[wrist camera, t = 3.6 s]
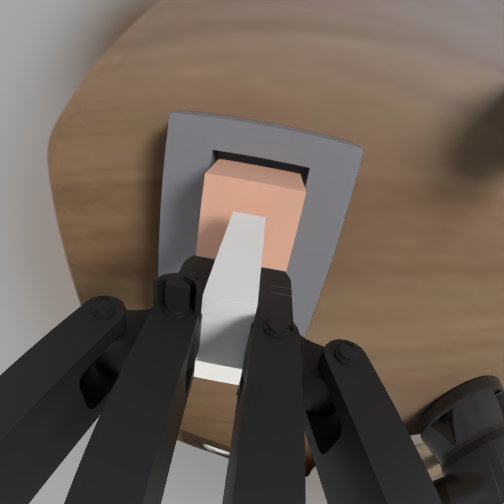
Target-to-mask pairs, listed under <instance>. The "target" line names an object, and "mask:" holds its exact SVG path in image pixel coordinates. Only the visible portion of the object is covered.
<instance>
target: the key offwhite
mask: <svg viewBox="0 0 504 504" xmlns="http://www.w3.org/2000/svg"><path fill="white" fill-rule="evenodd" d="M241 374H242V369H238V368H232V367H227V366H221V365H216V364H211V363H206V362H201V361H197V358H196V361H195V369H194V377H199V378H204V379H209V380H214V381H219V382H224V383H230V384H236V385H239V382H240V378H241Z"/></svg>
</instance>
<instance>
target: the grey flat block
mask: <svg viewBox="0 0 504 504" xmlns="http://www.w3.org/2000/svg"><path fill="white" fill-rule="evenodd" d="M363 150H364V149H363V148H362V147H360V146H358V145H356V144H354V143H352V142H350V141H347V140H343V139H339V138H335V137H331V136H327V135H323V134H319V133H315V132H310V131H306V130H302V129H297V128H292V127H288V126H283V125H278V124H272V123H267V122H262V121H256V120H250V119H244V118H238V117H231V116H224V115H217V114H209V113H201V112H192V111H180V112H171V113H170V115H169V123H168V131H167V140H166V149H165V159H164V170H163V182H162V195H161V211H160V230H159V259H158V277H159V276H162V275H164V274H168V273H179V271H180V270H181V267H182V265H183V263H184V261H185V260H187V259H188V258H190V257H191V256H193V255H195V256H196V248H197V238H198V228H199V219H200V210H201V202H202V194H203V186H204V178H205V173H206V172H207V171H208V170H209V169H210V168H211V167H212V166H213V165H214V164H215V163H216V162H217V161H218V160H219V159H224V160H230V161H236V162H241V163H247V164H253V165H258V166H264V167H269V168H274V169H279V170H284V171H289V172H294V173H298V174H300V175H301V178H302V181H303V183H304V186H305V189H306V196H305V200H304V204H303V208H302V212H301V216H300V220H299V224H298V228H297V232H296V236H295V240H294V244H293V248H292V251H291V255H290V259H289V263H288V267H287V270H286V273H287V275H288V276H289V278H290V279H291V290H292V305H293V322H294V324H295V325H296V326H297V327H298V330H299V334H300V335H301V336H302V337H305V334H306V331H307V329H308V326H309V323H310V321H311V318H312V315H313V313H314V310H315V307H316V304H317V301H318V299H319V296H320V293H321V290H322V287H323V284H324V282H325V279H326V276H327V273H328V270H329V267H330V264H331V261H332V258H333V255H334V252H335V248H336V245H337V242H338V239H339V236H340V233H341V229H342V226H343V223H344V219H345V216H346V213H347V209H348V206H349V202H350V199H351V195H352V192H353V188H354V185H355V181H356V177H357V174H358V170H359V166H360V162H361V158H362V154H363Z"/></svg>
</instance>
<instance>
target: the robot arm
mask: <svg viewBox="0 0 504 504" xmlns="http://www.w3.org/2000/svg"><path fill="white" fill-rule="evenodd" d="M265 219H266V217H261V216H256V215H251V214H245V213H240V212H234V211H233V214H232V216H231V219H230V222H229V224H228V227H227V230H226V232H225V235H224V238H223V240H222V243H221V246H220V249H219V251H218V254H217V257H216V259H211V258H206V257H201V256H195V255H193V256H191V257H190V258H188V259H187V260H185V261H184V263H183V265H182V267H181V270H180V271H179V273H168V274H164V275H162V276H159V277H158V278H157V279H156V280H155V281H154V306H153V308H152V309H148V310H126V307H125V305H124V304H123V302H122V301H120V300H119V299H118V298H115V297H111V296H99V297H94V298H92V299H90V300H89V301H87V302H86V303H84V304H83V305H82V306H81V307H79V308H78V309H77V310H76V311H75V312H73V313H72V314H71V315H70V316H68V317H67V318H66V319H65V320H63V321H62V322H61V323H60V324H59V325H57V326H56V327H55V328H54V329H53V330H51V331H50V332H49V333H48V334H47V335H46V336H44V337H43V338H42V339H41V340H40V341H38V342H37V343H36V344H35V345H34V346H33V347H32V348H31V349H29V350H28V351H27V352H26V353H25V354H24V355H22V356H21V357H20V358H19V359H18V360H17V361H16V362H15V363H14V364H13V365H11V366H10V367H9V368H8V369H7V370H6V371H5V372H4V373H2V374H1V375H0V504H29V503H30V501H31V500H32V499H33V498H34V496H35V495H36V494H37V493H38V491H39V490H40V489H41V487H42V486H43V485H44V484H45V482H46V481H47V480H48V479H49V477H50V476H51V475H52V474H53V472H54V471H55V470H56V469H57V467H58V466H59V465H60V464H61V462H62V461H63V460H64V459H65V458H66V456H67V455H68V454H69V453H70V451H71V450H72V449H73V447H74V446H75V445H76V444H77V442H78V441H79V440H80V439H81V438H82V436H83V435H84V434H85V433H86V432H87V430H88V429H89V428H90V427H91V425H92V424H93V423H94V422H95V421H96V419H97V418H98V417H99V415H100V414H101V415H100V417H99V419H98V421H97V424H96V426H95V428H94V431H93V433H92V435H91V438H90V440H89V442H88V445H87V447H86V449H85V452H84V454H83V457H82V459H81V462H80V464H79V467H78V469H77V472H76V474H75V477H74V479H73V482H72V485H71V487H70V490H69V492H68V495H67V498H66V500H65V503H64V504H161V501H162V496H163V493H164V488H165V484H166V481H167V476H168V472H169V468H170V464H171V460H172V456H173V452H174V448H175V444H176V441H177V437H178V433H179V429H180V425H181V421H182V417H183V414H184V410H185V406H186V402H187V398H188V395H189V391H190V387H191V383H192V380H193V376H194V369H195V361H196V358H197V361H201V362H206V363H211V364H216V365H221V366H227V367H232V368H238V369H242V374H241V378H240V382H239V386H238V390H237V394H236V395H237V396H238V397H237V404H236V411H235V418H234V425H233V433H232V440H231V447H230V454H229V461H228V468H227V475H226V482H225V489H224V496H223V503H222V504H305V438H304V430H305V434H306V437H307V440H308V443H309V446H310V449H311V452H312V456H313V459H314V462H315V465H316V468H317V471H318V475H319V478H320V481H321V484H322V487H323V490H324V493H325V497H326V499H327V503H328V504H504V389H503V387H502V385H501V383H500V381H499V379H498V378H497V377H495V376H484V377H480V378H477V379H474V380H471V381H469V382H467V383H465V384H463V385H461V386H459V387H457V388H455V389H454V390H452V391H450V392H449V393H447V394H446V395H444V396H443V397H442V398H440V399H439V400H438V401H436V402H435V403H434V404H433V405H432V406H431V407H430V408H429V409H428V410H427V411H426V412H425V413H424V414H423V416H422V417H421V419H420V421H419V423H418V428H419V432H420V435H421V438H422V440H423V442H424V443H425V444H426V446H427V447H428V448H429V449H430V451H431V452H432V453H433V455H434V456H435V457H436V459H437V460H438V461H439V463H440V466H441V469H442V473H443V477H441V478H439V479H437V480H434V481H432V480H431V478H430V476H429V473H428V471H427V469H426V467H425V465H424V463H423V461H422V459H421V457H420V455H419V453H418V451H417V449H416V447H415V445H414V443H413V441H412V439H411V437H410V435H409V433H408V431H407V429H406V427H405V425H404V423H403V421H402V419H401V418H400V416H399V414H398V412H397V410H396V408H395V406H394V404H393V402H392V400H391V399H390V397H389V395H388V393H387V391H386V389H385V387H384V386H383V384H382V382H381V380H380V378H379V376H378V375H377V373H376V371H375V369H374V367H373V366H372V364H371V362H370V360H369V358H368V357H367V355H366V353H365V352H364V351H363V350H362V348H361V347H359V346H358V345H356V344H355V343H353V342H350V341H347V340H341V339H337V340H333V341H330V342H329V343H328V344H326V346H325V347H323V346H321V345H318V344H315V343H313V342H311V341H309V340H307V339H305V338H304V337H302V336H301V335H300V334H299V330H298V327H297V326H296V325H295V324H294V322H293V305H292V290H291V279H290V278H289V276H288V275H287V273H286V272H285V271H280V270H275V269H269V268H264V267H261V263H262V252H263V241H264V230H265Z"/></svg>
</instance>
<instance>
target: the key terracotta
mask: <svg viewBox="0 0 504 504" xmlns="http://www.w3.org/2000/svg"><path fill="white" fill-rule="evenodd" d="M305 196H306V189H305V186H304V183H303V181H302V178H301V175H300V174H298V173H294V172H289V171H284V170H279V169H274V168H269V167H264V166H258V165H253V164H247V163H241V162H236V161H230V160H224V159H219V160H218V161H217V162H216V163H215V164H214V165H213V166H212V167H211V168H210V169H209V170H208V171H207V172H206V173H205V178H204V186H203V194H202V202H201V210H200V219H199V228H198V238H197V248H196V256H201V257H206V258H211V259H216V257H217V254H218V251H219V249H220V246H221V243H222V240H223V238H224V235H225V232H226V230H227V227H228V224H229V222H230V219H231V216H232V214H233V211H234V212H240V213H245V214H251V215H256V216H261V217H266V219H265V230H264V241H263V252H262V263H261V267H264V268H269V269H275V270H280V271H285V272H286V270H287V267H288V263H289V259H290V255H291V251H292V248H293V244H294V240H295V236H296V232H297V228H298V224H299V220H300V216H301V212H302V208H303V204H304V200H305Z"/></svg>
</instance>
